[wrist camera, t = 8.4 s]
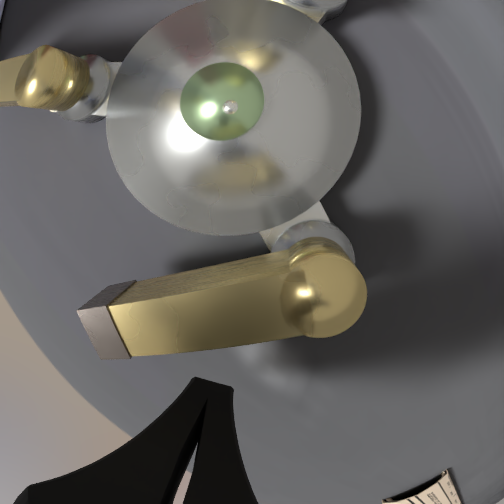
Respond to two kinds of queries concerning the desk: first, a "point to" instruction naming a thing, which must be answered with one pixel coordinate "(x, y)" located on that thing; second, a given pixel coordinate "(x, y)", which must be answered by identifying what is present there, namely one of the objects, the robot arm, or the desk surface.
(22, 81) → the lever
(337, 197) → the desk surface
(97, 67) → the base
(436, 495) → the newspaper
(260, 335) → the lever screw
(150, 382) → the desk surface
